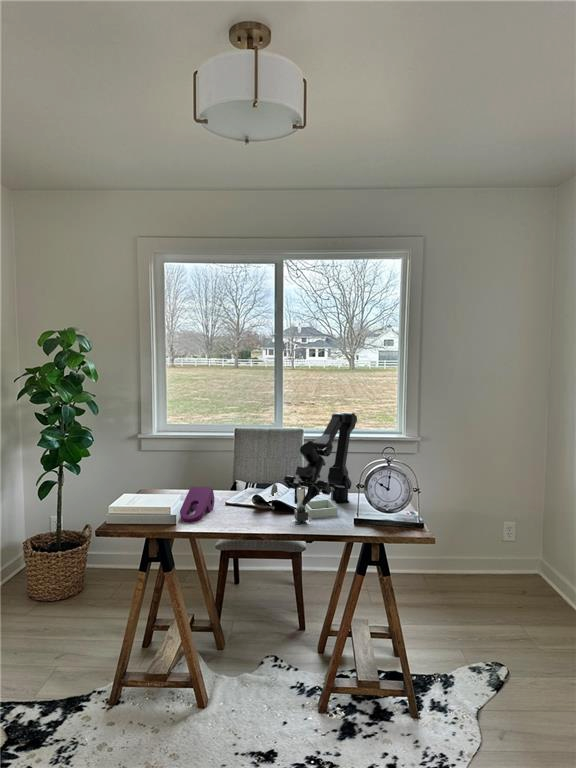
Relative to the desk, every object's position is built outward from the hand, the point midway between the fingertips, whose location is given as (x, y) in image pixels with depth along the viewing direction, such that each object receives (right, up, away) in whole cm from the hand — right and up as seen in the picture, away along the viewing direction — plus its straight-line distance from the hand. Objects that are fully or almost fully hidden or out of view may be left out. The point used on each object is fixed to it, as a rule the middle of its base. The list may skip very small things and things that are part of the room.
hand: (299, 504), depth 185 cm
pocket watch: (-12, -6, +30) cm, 33 cm away
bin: (+9, -7, +12) cm, 16 cm away
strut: (+1, -6, +2) cm, 6 cm away
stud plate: (+1, -8, +2) cm, 9 cm away
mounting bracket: (-41, -8, +14) cm, 44 cm away
